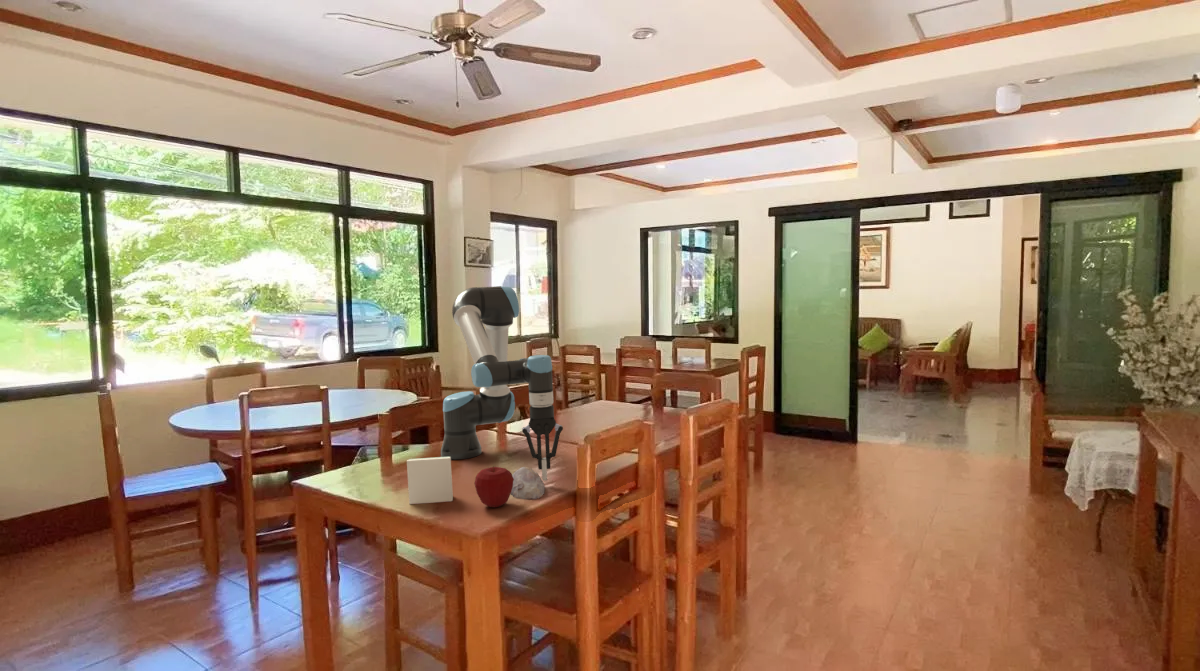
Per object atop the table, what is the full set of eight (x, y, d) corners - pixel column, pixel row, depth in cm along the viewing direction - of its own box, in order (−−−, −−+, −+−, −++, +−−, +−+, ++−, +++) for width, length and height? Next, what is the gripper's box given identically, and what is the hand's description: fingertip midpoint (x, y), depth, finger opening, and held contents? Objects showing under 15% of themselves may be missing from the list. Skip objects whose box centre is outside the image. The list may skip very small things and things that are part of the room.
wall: (410, 502, 188) (407, 459, 187) (452, 499, 189) (450, 457, 188) (409, 504, 186) (406, 460, 185) (452, 501, 188) (450, 458, 187)
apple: (472, 513, 177) (470, 472, 176) (479, 500, 188) (477, 461, 187) (512, 511, 177) (510, 470, 176) (516, 499, 188) (515, 460, 187)
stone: (533, 518, 187) (555, 491, 189) (508, 498, 185) (531, 471, 186) (523, 500, 204) (544, 476, 205) (500, 481, 201) (521, 457, 202)
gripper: (520, 408, 192) (523, 484, 194) (563, 406, 194) (566, 481, 196) (520, 404, 200) (523, 477, 202) (561, 401, 201) (564, 474, 203)
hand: (544, 478), depth 199 cm, fingers closed
